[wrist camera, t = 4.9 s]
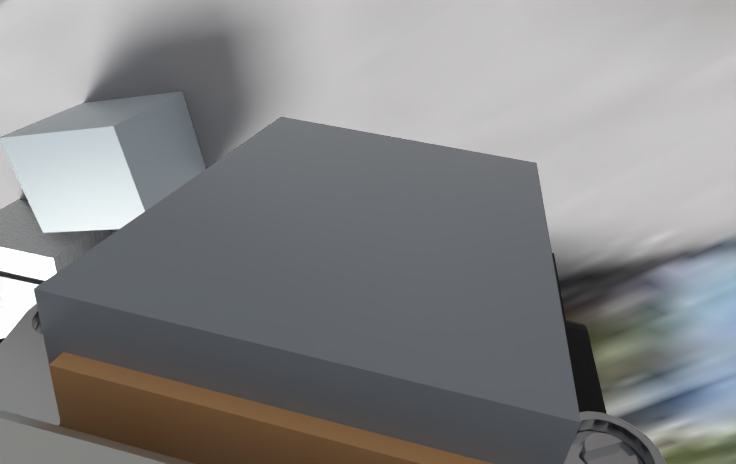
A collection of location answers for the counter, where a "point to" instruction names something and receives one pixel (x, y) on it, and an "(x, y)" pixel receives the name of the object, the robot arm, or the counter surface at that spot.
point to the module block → (323, 311)
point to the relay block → (104, 160)
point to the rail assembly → (32, 258)
